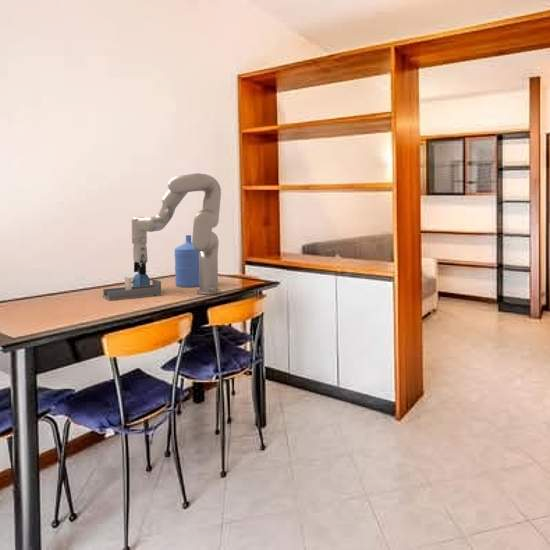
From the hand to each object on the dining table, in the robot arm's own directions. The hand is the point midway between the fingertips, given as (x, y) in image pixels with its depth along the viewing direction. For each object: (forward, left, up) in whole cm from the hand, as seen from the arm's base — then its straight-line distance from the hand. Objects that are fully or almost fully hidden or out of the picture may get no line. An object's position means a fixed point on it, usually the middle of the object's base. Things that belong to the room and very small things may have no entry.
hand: (140, 273), depth 274 cm
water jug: (+2, -28, -10) cm, 30 cm away
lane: (-14, +9, -9) cm, 19 cm away
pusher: (-14, +10, -8) cm, 19 cm away
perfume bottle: (0, 0, -10) cm, 10 cm away
